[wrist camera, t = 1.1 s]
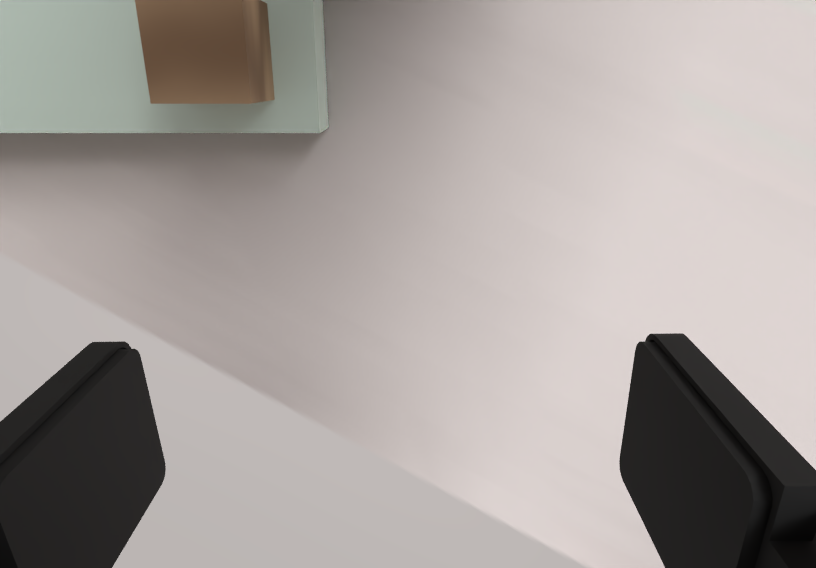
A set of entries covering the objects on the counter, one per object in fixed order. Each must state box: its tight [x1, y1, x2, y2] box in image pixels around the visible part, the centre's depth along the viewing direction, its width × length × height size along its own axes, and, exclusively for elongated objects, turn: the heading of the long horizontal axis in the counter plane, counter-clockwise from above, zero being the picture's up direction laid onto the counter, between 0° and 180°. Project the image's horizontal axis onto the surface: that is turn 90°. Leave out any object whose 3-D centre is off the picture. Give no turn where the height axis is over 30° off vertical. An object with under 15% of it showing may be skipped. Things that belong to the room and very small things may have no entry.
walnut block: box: [135, 0, 275, 104], centre depth 23 cm, size 4×4×4 cm
